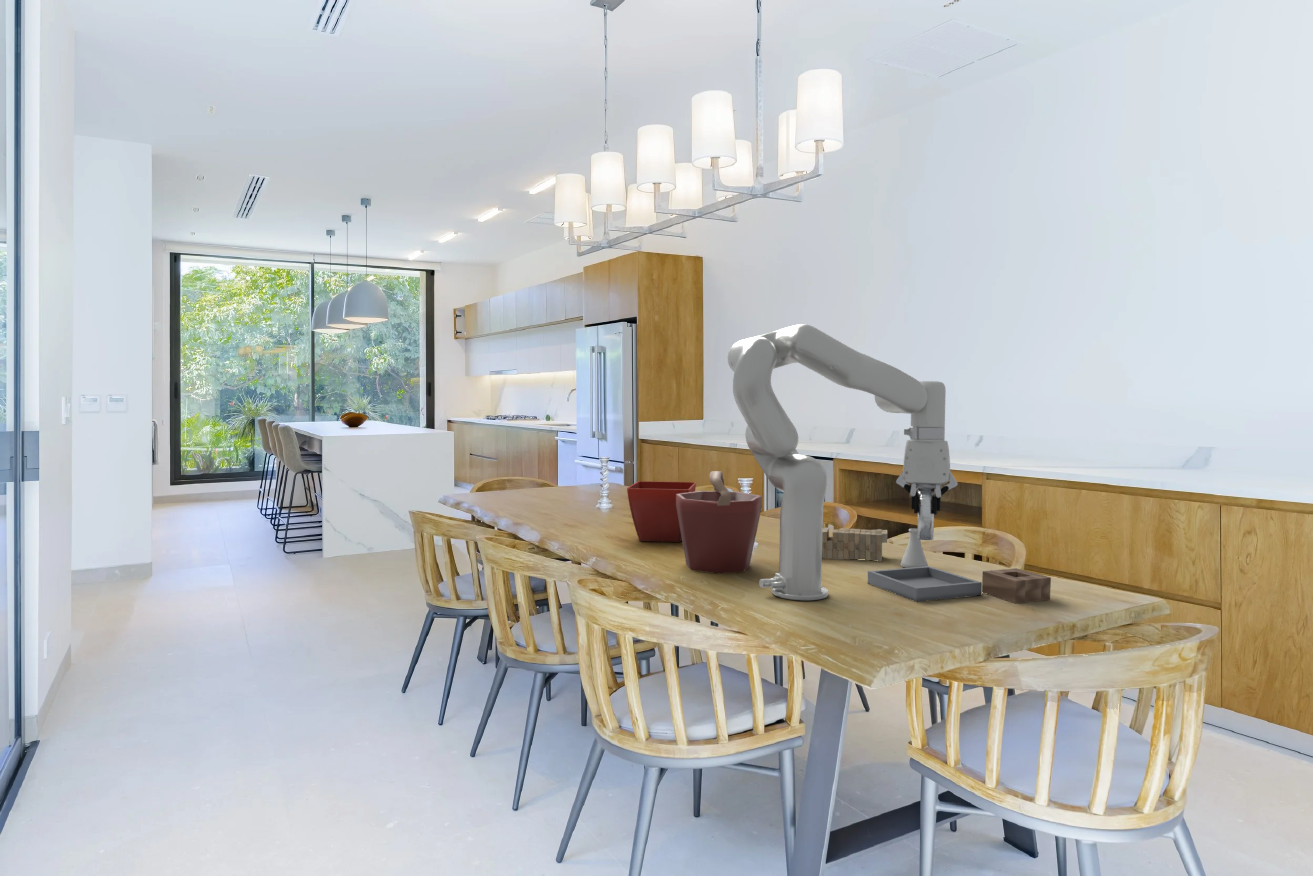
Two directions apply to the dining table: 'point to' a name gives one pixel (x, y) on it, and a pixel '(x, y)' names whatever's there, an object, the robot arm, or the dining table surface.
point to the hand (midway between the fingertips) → (925, 512)
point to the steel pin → (925, 511)
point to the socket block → (1016, 585)
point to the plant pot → (657, 509)
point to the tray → (924, 583)
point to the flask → (914, 552)
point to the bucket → (718, 527)
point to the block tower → (853, 544)
